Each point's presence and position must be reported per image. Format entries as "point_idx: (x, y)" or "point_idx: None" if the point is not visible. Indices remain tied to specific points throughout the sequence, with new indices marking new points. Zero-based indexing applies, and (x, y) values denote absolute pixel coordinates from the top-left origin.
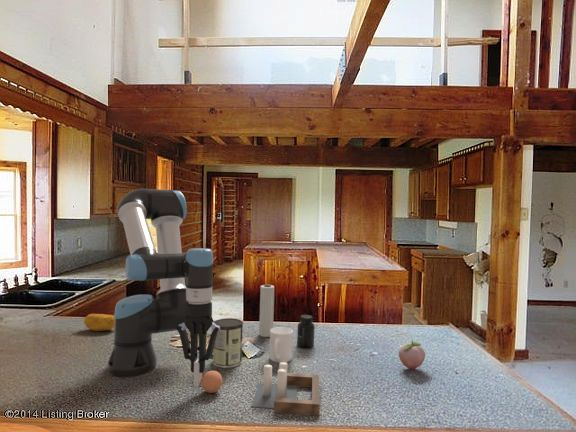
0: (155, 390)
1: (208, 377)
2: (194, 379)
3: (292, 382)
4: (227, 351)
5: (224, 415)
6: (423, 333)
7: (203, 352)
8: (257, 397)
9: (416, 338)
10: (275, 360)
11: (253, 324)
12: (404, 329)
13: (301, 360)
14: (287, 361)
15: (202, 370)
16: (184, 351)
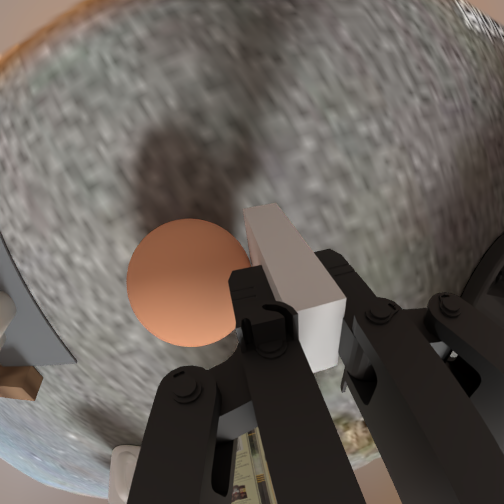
0: (431, 179)
1: (184, 266)
2: (281, 218)
3: (7, 372)
4: (254, 456)
5: (32, 96)
6: (46, 480)
7: (264, 451)
8: (10, 276)
9: (40, 474)
10: (136, 449)
11: None
12: (69, 489)
13: (97, 451)
14: (114, 448)
15: (236, 282)
16: (500, 339)
